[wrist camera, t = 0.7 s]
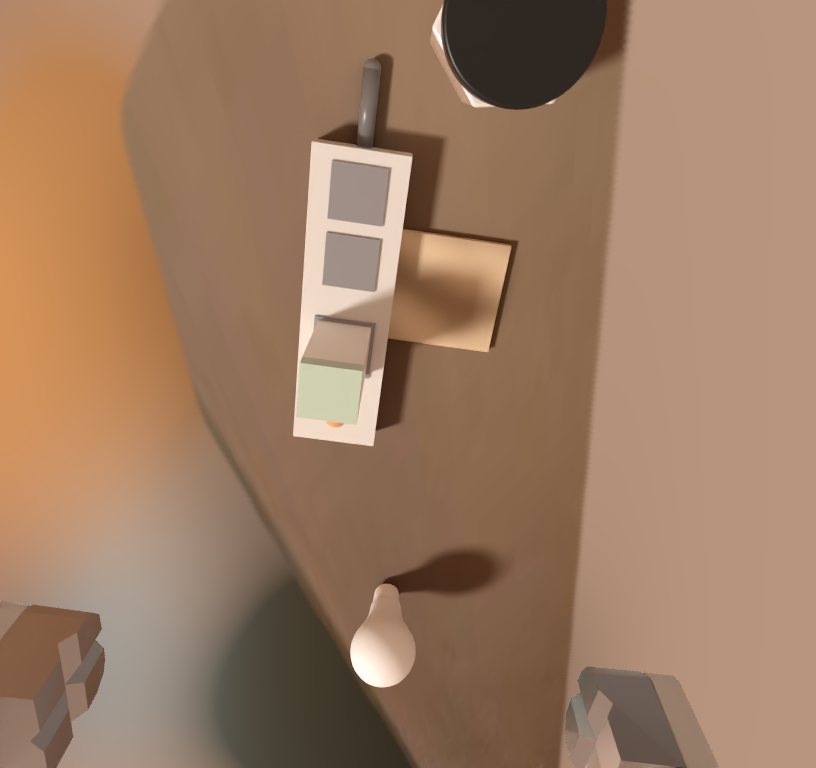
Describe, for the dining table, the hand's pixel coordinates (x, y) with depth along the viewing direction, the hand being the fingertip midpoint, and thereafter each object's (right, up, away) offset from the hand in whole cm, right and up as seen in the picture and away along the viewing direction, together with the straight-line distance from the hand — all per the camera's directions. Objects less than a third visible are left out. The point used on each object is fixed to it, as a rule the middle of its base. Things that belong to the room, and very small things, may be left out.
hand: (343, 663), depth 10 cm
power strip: (-3, +14, +37) cm, 40 cm away
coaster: (+4, +12, +38) cm, 40 cm away
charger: (-4, +8, +37) cm, 38 cm away
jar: (+7, +28, +30) cm, 42 cm away
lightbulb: (-1, -17, +53) cm, 55 cm away
